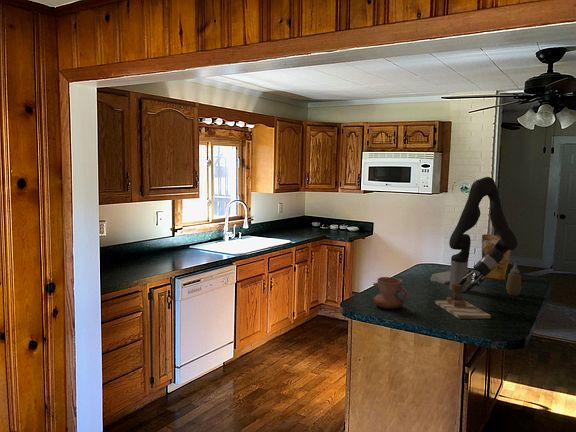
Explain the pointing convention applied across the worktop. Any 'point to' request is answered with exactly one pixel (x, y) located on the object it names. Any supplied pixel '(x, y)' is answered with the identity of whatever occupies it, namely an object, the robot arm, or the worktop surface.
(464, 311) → the birch board
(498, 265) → the pancake mix bag
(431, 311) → the worktop surface
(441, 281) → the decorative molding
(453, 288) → the block
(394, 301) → the ceramic jug
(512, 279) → the squeeze bottle
